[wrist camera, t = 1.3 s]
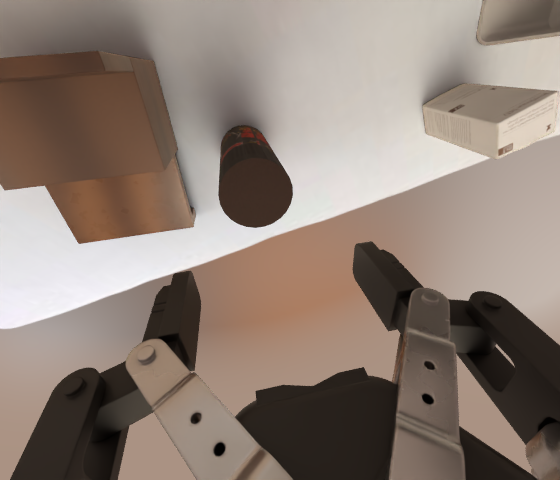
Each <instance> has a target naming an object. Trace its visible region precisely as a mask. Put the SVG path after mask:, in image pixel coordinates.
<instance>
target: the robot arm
mask: <svg viewBox="0 0 560 480" xmlns="http://www.w3.org/2000/svg"><path fill="white" fill-rule="evenodd" d="M353 261H354V262H353V274H354V278H355V280H356V282H357V283H358V285H359V286H360V288H361V289H362V291H363V292H364V294H365V296H366V297H367V299H368V300H369V302H370V303H371V305H372V307H373V308H374V309H375V311H376V313H377V314H378V316H379V317H380V319H381V321H382V322H383V323H384V325H385V327H386V328H387V330H388V331H392V330H396V329H398V331H399V332H400V333H401V334H400V338H399V344H398V349H397V356H396V362H395V369H394V374H393V379H392V382H391V381H388V380H386V379H383V378H379V377H374V376H368V375H367V373H366V371H365V369H364V367H363V368H358V369H353V370H349V371H344V372H340V373H337V374H335V375H333V376H332V377H330V378H328V379H326V380H324V381H322V382H320V383H318V384H317V385H315V386H294V385H281V386H277V387H272V388H268V389H263V390H258V391H256V401H254V402H252V403H250V404H249V405H248V406H246V407H245V408H244V409H242V410H241V411H240V412H239V413H238V414H237V415H236V417H234V416H233V415H232V413H231V412H230V411H229V410H228V409H227V408H226V407H225V406H224V404H223V403H222V402H221V401H220V400H219V399H218V398H217V396H216V395H215V394H214V393H213V392H212V391H211V390H210V388H209V387H208V386H207V385H206V384H205V383H204V382H203V380H201V378H200V377H199V376H198V375H197V374H196V373H191V372H190V371H194V370H195V362H196V352H197V341H198V331H199V322H200V311H201V300H200V295H199V292H198V289H197V286H196V282H195V280H194V276H193V273H192V272H191V271H186V272H180V273H174V275H173V278H172V282H171V285H169V286H164V287H163V288H162V289H161V290H160V291H159V293H158V294H157V295H156V298H155V302H154V306H153V308H152V311H151V312H152V314H151V315H150V318H149V321H148V324H147V328H146V331H145V334H144V338H143V341H142V343H140V344H139V345H137V346H136V347H135V348H134V349H133V350H132V351H131V352H130V354H129V355H128V357H127V359H126V361H125V362H123V363H121V364H119V365H117V366H115V367H112V368H110V369H108V370H106V371H104V372H102V373H99V372H98V371H97V370H96V369H94V368H83V369H80V370H77V371H75V372H73V373H71V374H70V375H68V376H67V377H65V378H64V379H63V380H62V381H61V382H60V383H59V384H58V385H57V386H56V387H55V389H54V390H53V392H52V394H51V396H50V398H49V400H48V402H47V404H46V406H45V408H44V410H43V412H42V415H41V417H40V418H39V421H38V423H37V425H36V427H35V429H34V431H33V433H32V435H31V437H30V440H29V441H28V443H27V446H26V448H25V450H24V452H23V454H22V456H21V458H20V460H19V462H18V464H17V466H16V468H15V471H14V472H13V475H12V477H11V479H10V480H118V475H119V471H120V466H121V461H122V457H123V452H124V447H125V443H126V438H127V433H128V429H129V425H131V424H133V423H135V422H136V421H138V420H140V419H142V418H144V417H146V416H147V415H149V414H151V413H153V412H154V413H155V415H156V417H157V418H158V420H159V421H160V423H161V425H162V426H163V428H164V429H165V431H166V432H167V434H168V436H169V437H170V439H171V440H172V442H173V443H174V445H175V446H176V448H177V450H178V451H179V453H180V454H181V456H182V457H183V459H184V461H185V462H186V464H187V466H188V467H189V469H190V470H191V472H192V473H193V475H194V477H195V478H196V480H560V345H559V344H557V343H556V342H555V341H554V340H553V339H552V338H550V337H549V336H548V335H547V334H546V333H545V332H543V331H542V330H541V329H540V328H539V327H538V326H536V325H535V324H534V323H533V322H532V321H531V320H529V319H528V318H527V317H526V316H525V315H524V314H523V313H521V312H520V311H519V310H518V309H517V308H515V307H514V306H513V305H512V304H511V303H510V302H508V301H507V300H506V299H504V298H503V297H501V296H499V295H497V294H494V293H490V292H484V291H478V292H475V293H473V294H472V295H471V297H470V299H469V301H463V300H449V299H447V298H446V297H445V296H444V295H443V294H441V293H440V292H438V291H436V290H433V289H429V288H424V287H423V286H422V285H421V284H420V283H419V282H418V281H417V280H416V279H415V278H414V277H413V276H412V275H411V274H410V272H409V271H408V270H407V269H406V268H404V266H403V265H402V264H401V263H399V261H398V260H397V259H396V257H395V256H394V255H393V254H391V253H389V252H387V251H385V250H379V249H378V247H377V246H376V245H375V244H374V243H373V242H371V241H370V242H365V243H358V244H356V245H355V250H354V260H353ZM496 344H498V346H499V347H500V348H501V349H502V350H503V351H504V352H505V353H506V354H507V355H508V356H509V358H510V359H511V360H512V362H513V363H514V366H515V367H514V366H513V365H512V364H511V363H510V362H509V361H508V360H507V359H506V358H505V356H503V354H502V353H501V352H500V351H499V350H498V349H497V348H496V347H495V345H496ZM456 354H457V355H458V356H459V358H460V359H461V360H462V362H463V363H464V364H465V365H466V367H467V368H468V370H469V371H470V372H471V373H472V375H473V376H474V377H475V379H476V380H477V381H478V383H479V384H480V385H481V387H482V388H483V389H484V390H485V392H486V393H487V395H488V396H489V397H490V398H491V400H492V401H493V402H494V404H495V405H496V406H497V408H498V409H499V410H500V412H501V413H502V414H503V416H504V417H505V418H506V420H507V421H508V422H509V423H510V425H511V426H512V427H513V429H514V430H515V431H516V433H517V434H518V435H519V436H520V438H521V439H522V441H523V442H524V443H525V445H526V457H527V460H528V462H529V464H530V466H531V467H532V469H531V472H532V475H531V474H530V473H529V472H527V471H526V470H524V469H522V468H521V467H519V466H518V465H516V464H515V463H514V462H512V461H511V460H509V459H508V458H506V457H505V456H503V455H502V454H500V453H499V452H497V451H495V450H494V449H493V448H491V447H490V446H488V445H487V444H485V443H484V442H482V441H481V440H479V439H478V438H476V437H475V436H473V435H472V434H470V433H469V432H467V431H466V430H464V429H463V428H461V427H460V426H459V413H458V388H457V362H456Z"/></svg>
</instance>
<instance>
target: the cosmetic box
mask: <svg viewBox="0 0 560 480" xmlns="http://www.w3.org/2000/svg"><path fill="white" fill-rule="evenodd" d="M557 107H558V91H549V90H536V89H526V88H514V87H502V86H491V85H480V84H468V83H465V84H461V85H459V86H457V87H455V88H453V89H451V90H449V91H447V92H445V93H443V94H441V95H439V96H438V97H436V98H434V99H432V100H430V101H429V102H427V103H426V104H424V105H423V116H424V123H425V129H426V134H427V135H430V136H433V137H436V138H438V139H441V140H444V141H447V142H449V143H452V144H455V145H457V146H460V147H463V148H466V149H468V150H471V151H474V152H477V153H479V154H482V155H485V156H488V157H490V158H493V159H495V160H497V159H500V158H502V157H504V156H506V155H508V154H510V153H512V152H514V151H516V150H520V149H523V148H525V147H527V146H529V145H530V144H532V143H533V142H535V141H536V140H538V139H540V138H542V137H544V136H547V135H549V134H551V133H553V132H554V131H555V125H556V116H557Z"/></svg>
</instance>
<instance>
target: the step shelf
mask: <svg viewBox="0 0 560 480" xmlns="http://www.w3.org/2000/svg"><path fill="white" fill-rule="evenodd" d="M177 150H178V148H177V144H176V140H175V137H174V133H173V129H172V126H171V122H170V118H169V115H168V111H167V107H166V104H165V100H164V96H163V93H162V89H161V86H160V82H159V78H158V75H157V71H156V67H155V64H154V61H151V60H145V59H140V58H134V57H129V56H123V55H118V54H112V53H107V52H101V51H89V52H75V53H62V54H48V55H35V56H21V57H7V58H0V184H1V186H2V187H3V189H4V190H12V189H20V188H28V187H36V186H44V185H45V187H46V188H47V190H48V192H49V193H50V195H51V197H52V199H53V200H54V202H55V204H56V206H57V207H58V209H59V211H60V212H61V214H62V216H63V218H64V219H65V221H66V223H67V224H68V226H69V228H70V230H71V231H72V233H73V235H74V237H75V238H76V240H77V242H78V243H79V244H81V243H88V242H95V241H101V240H108V239H115V238H122V237H129V236H135V235H142V234H149V233H156V232H163V231H169V230H176V229H183V228H190V227H194V222H195V217H196V213H195V210H194V208H190V205H189V202H188V198H187V195H186V191H185V188H184V184H183V181H182V177H181V174H180V170H179V166H178V163H177V159H176V156H175V153H176V152H177Z"/></svg>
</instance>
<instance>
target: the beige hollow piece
mask: <svg viewBox="0 0 560 480" xmlns="http://www.w3.org/2000/svg"><path fill="white" fill-rule="evenodd" d="M554 36H560V0H483V4H482V9H481V14H480V19H479V24H478V29H477V39H478V41H479V42H480V43H481V44H483V45H495V44H502V43H509V42H517V41H524V40H532V39H539V38H547V37H554Z"/></svg>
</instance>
